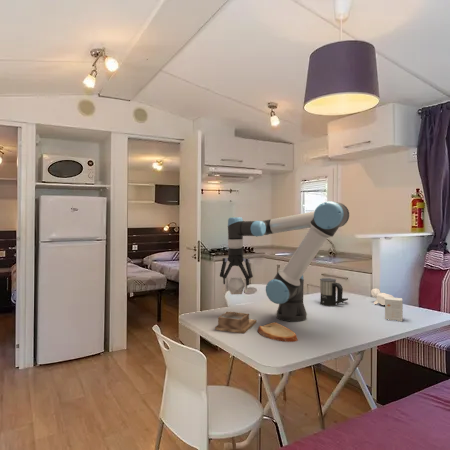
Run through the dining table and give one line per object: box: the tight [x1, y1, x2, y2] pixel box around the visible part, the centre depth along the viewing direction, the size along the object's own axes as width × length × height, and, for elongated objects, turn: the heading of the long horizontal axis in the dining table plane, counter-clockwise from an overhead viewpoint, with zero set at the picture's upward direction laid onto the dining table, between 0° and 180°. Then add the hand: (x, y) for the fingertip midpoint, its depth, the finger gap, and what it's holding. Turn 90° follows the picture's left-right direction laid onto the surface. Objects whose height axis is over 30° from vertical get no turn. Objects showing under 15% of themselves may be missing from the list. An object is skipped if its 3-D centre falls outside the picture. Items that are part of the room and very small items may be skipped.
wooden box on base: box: [214, 311, 257, 334], centre depth 175 cm, size 14×18×6 cm
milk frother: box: [319, 277, 349, 307], centre depth 218 cm, size 14×16×15 cm
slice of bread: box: [257, 321, 299, 343], centre depth 163 cm, size 18×18×4 cm
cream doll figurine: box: [370, 288, 395, 306], centre depth 217 cm, size 9×8×15 cm
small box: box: [384, 297, 404, 322], centre depth 186 cm, size 8×6×10 cm
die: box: [228, 277, 244, 295], centre depth 190 cm, size 8×9×10 cm
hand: (236, 291), depth 190 cm, fingers closed on die, 10 cm apart
